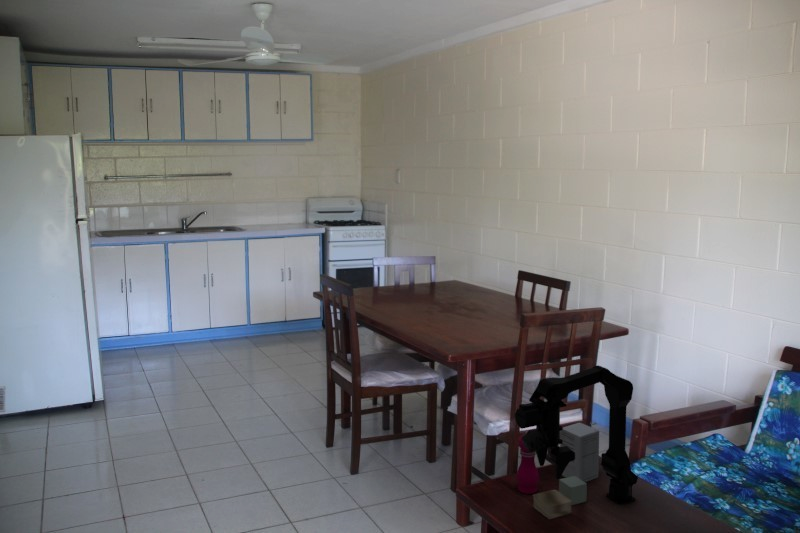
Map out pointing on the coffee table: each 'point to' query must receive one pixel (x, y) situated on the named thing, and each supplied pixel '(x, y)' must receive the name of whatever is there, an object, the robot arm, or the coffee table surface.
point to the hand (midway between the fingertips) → (549, 472)
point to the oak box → (552, 504)
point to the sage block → (573, 489)
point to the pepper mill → (527, 471)
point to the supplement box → (581, 451)
